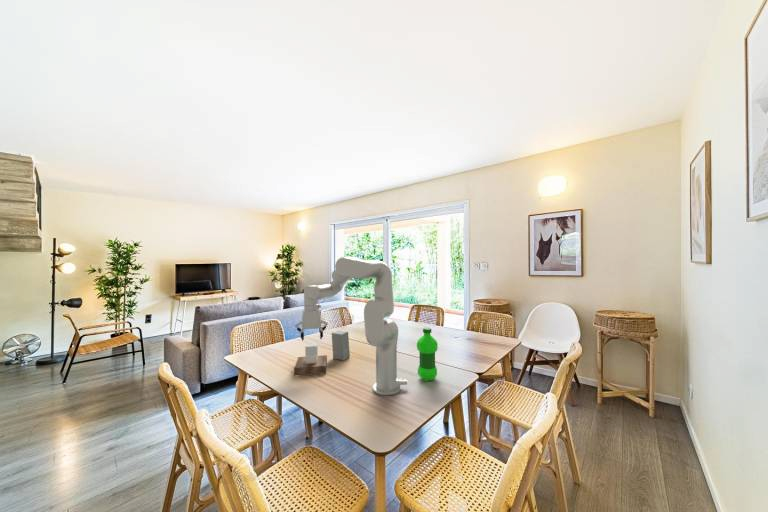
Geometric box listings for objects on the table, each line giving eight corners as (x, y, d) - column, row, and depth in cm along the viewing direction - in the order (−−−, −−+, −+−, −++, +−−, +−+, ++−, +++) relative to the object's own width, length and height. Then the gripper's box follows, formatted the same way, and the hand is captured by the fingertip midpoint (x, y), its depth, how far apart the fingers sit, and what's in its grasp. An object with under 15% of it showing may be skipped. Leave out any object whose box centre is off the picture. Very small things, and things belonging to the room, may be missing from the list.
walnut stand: (327, 362, 163) (326, 355, 163) (326, 373, 147) (326, 365, 147) (298, 364, 160) (298, 357, 160) (294, 375, 144) (294, 368, 144)
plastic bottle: (424, 385, 133) (424, 332, 133) (413, 376, 142) (412, 327, 142) (442, 381, 137) (441, 329, 137) (429, 372, 146) (429, 325, 146)
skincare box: (350, 357, 170) (349, 331, 170) (342, 361, 164) (342, 334, 164) (339, 355, 174) (339, 329, 174) (331, 358, 168) (331, 332, 168)
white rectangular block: (317, 358, 157) (317, 342, 157) (317, 362, 151) (316, 346, 151) (306, 359, 156) (306, 343, 156) (305, 363, 150) (305, 346, 150)
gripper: (327, 305, 159) (328, 336, 158) (295, 307, 156) (296, 338, 155) (327, 308, 151) (328, 339, 151) (293, 309, 148) (294, 342, 148)
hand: (312, 339), depth 153 cm, fingers open, 9 cm apart
